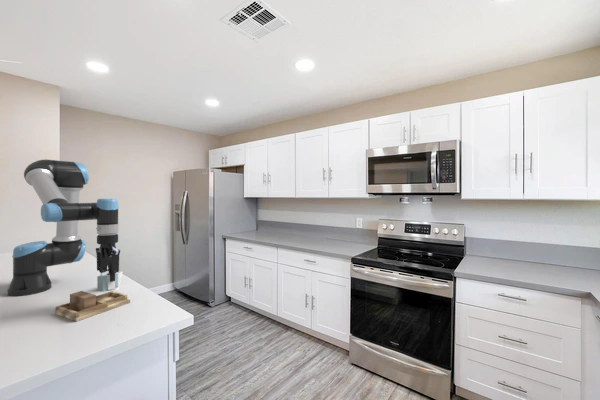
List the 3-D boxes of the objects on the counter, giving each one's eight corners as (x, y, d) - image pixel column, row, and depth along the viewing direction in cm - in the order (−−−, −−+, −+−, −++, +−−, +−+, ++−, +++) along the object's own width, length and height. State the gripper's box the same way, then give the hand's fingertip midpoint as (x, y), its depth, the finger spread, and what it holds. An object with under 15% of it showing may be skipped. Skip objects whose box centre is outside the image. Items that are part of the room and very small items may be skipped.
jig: (55, 314, 105) (55, 306, 105) (109, 297, 123) (109, 290, 123) (76, 321, 99) (76, 313, 99) (130, 302, 117) (130, 295, 117)
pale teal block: (97, 290, 114) (97, 276, 114) (112, 286, 119) (112, 272, 119) (102, 291, 112) (102, 277, 112) (117, 287, 117) (117, 273, 117)
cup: (106, 292, 130) (106, 275, 129) (104, 286, 137) (104, 271, 137) (123, 289, 134) (123, 273, 134) (120, 284, 142) (120, 268, 142)
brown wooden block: (69, 309, 107) (69, 294, 107) (81, 305, 111) (81, 291, 111) (84, 313, 103) (84, 298, 103) (95, 309, 107) (95, 294, 107)
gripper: (86, 234, 115) (86, 287, 116) (110, 236, 108) (110, 293, 109) (105, 232, 122) (105, 282, 122) (129, 234, 115) (129, 288, 115)
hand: (107, 287), depth 116 cm, fingers closed on pale teal block, 4 cm apart
